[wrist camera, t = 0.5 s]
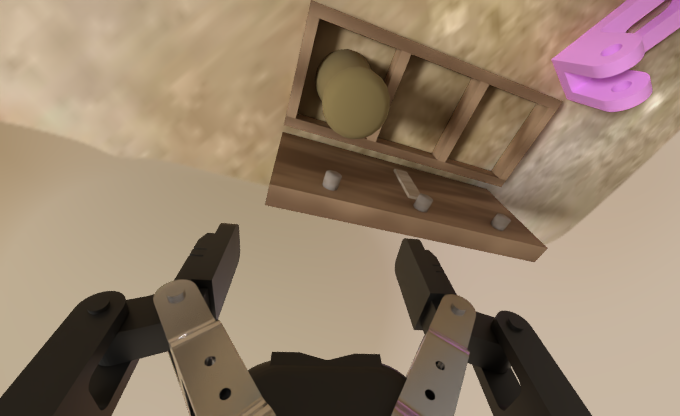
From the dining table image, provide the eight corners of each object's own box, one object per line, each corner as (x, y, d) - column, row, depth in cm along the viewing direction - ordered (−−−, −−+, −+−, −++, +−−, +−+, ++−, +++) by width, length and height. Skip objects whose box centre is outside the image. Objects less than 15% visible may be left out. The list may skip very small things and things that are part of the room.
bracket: (566, 98, 32) (621, 116, 26) (550, 59, 30) (607, 68, 24) (695, 5, 28) (795, 1, 22) (690, -51, 25) (801, -72, 20)
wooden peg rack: (311, 1, 25) (310, -11, 15) (549, 97, 32) (657, 132, 22) (279, 148, 32) (265, 204, 23) (478, 200, 39) (534, 262, 29)
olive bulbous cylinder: (368, 42, 27) (397, 53, 18) (376, 105, 31) (403, 140, 22) (308, 57, 27) (307, 75, 18) (322, 117, 31) (327, 158, 22)
